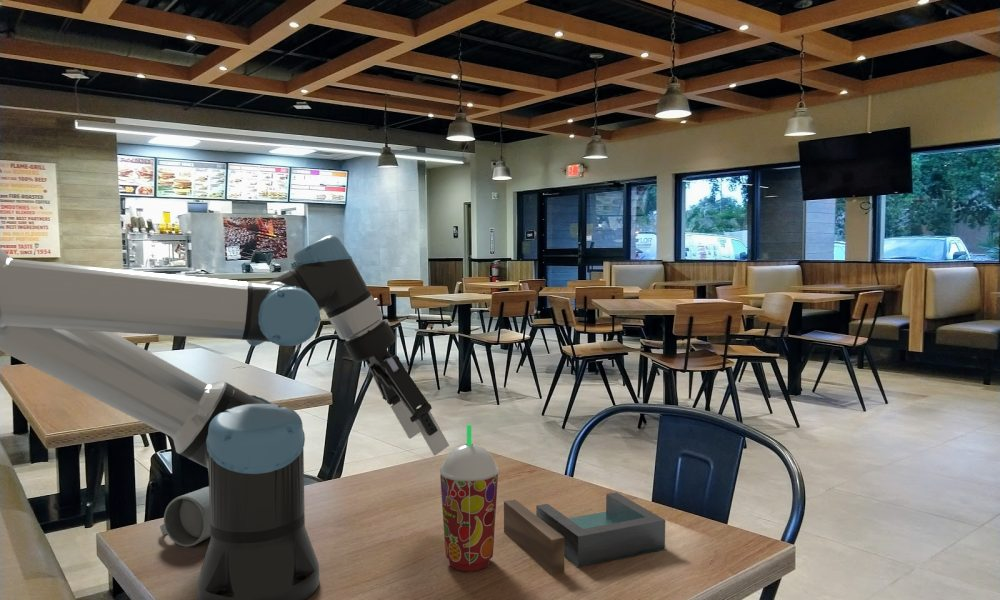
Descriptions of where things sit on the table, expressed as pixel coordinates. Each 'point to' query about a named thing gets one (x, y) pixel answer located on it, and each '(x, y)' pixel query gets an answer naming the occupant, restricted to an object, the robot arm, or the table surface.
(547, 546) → the walnut rail
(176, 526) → the ceramic mug
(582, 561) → the keyed cradle
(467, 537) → the smoothie
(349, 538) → the table surface
